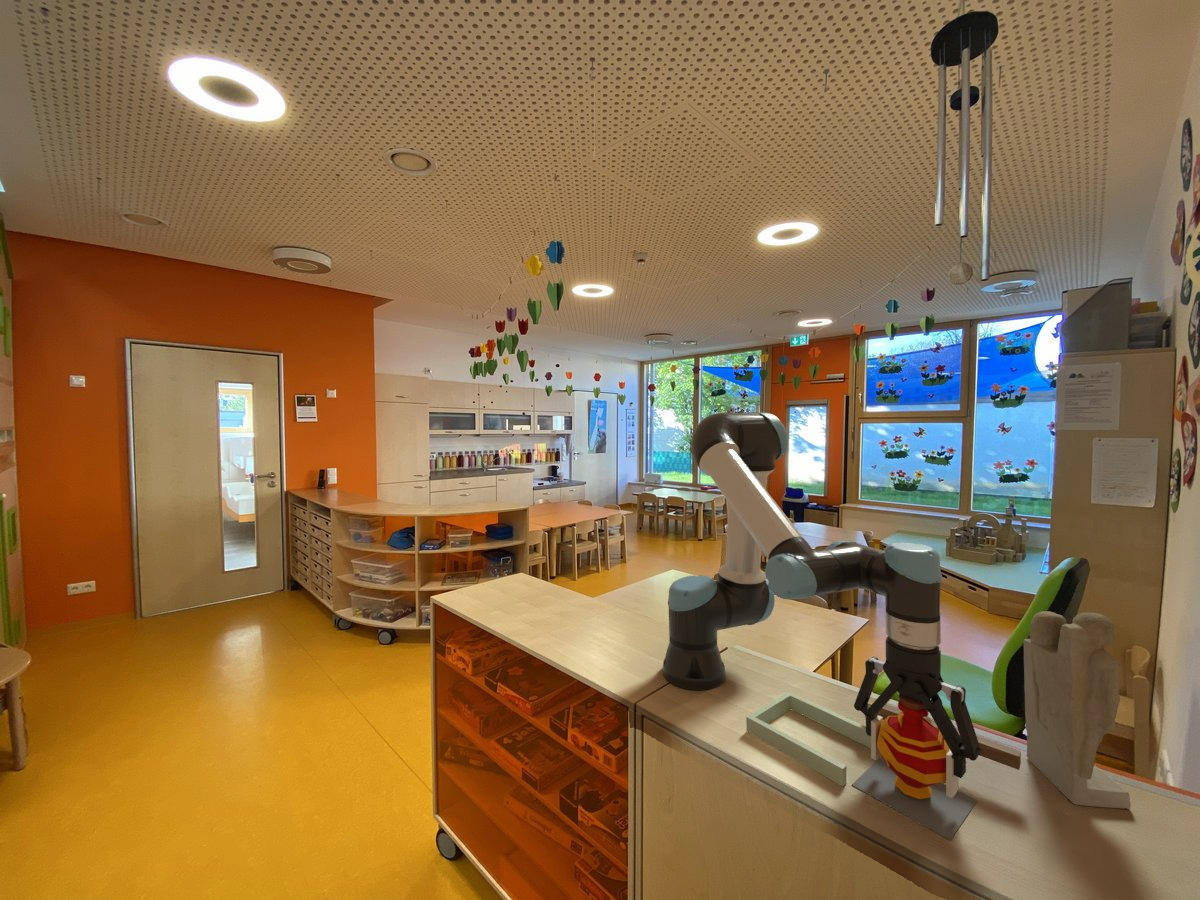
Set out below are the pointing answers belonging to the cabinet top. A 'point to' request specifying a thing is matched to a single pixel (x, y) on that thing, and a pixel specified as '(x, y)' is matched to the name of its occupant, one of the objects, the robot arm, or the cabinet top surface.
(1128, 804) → the sculpture
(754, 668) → the cabinet top surface
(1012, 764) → the turn bar
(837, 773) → the channel
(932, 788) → the mat
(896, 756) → the potion bottle
